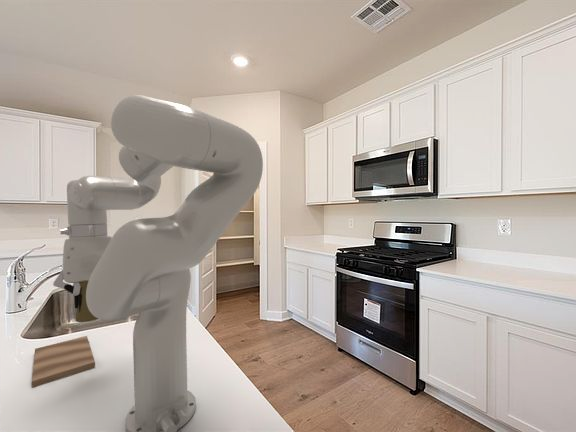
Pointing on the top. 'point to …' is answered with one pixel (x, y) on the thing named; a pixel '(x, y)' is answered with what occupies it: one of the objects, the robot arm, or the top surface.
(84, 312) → the cork
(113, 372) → the top surface
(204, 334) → the top surface
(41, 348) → the walnut board
